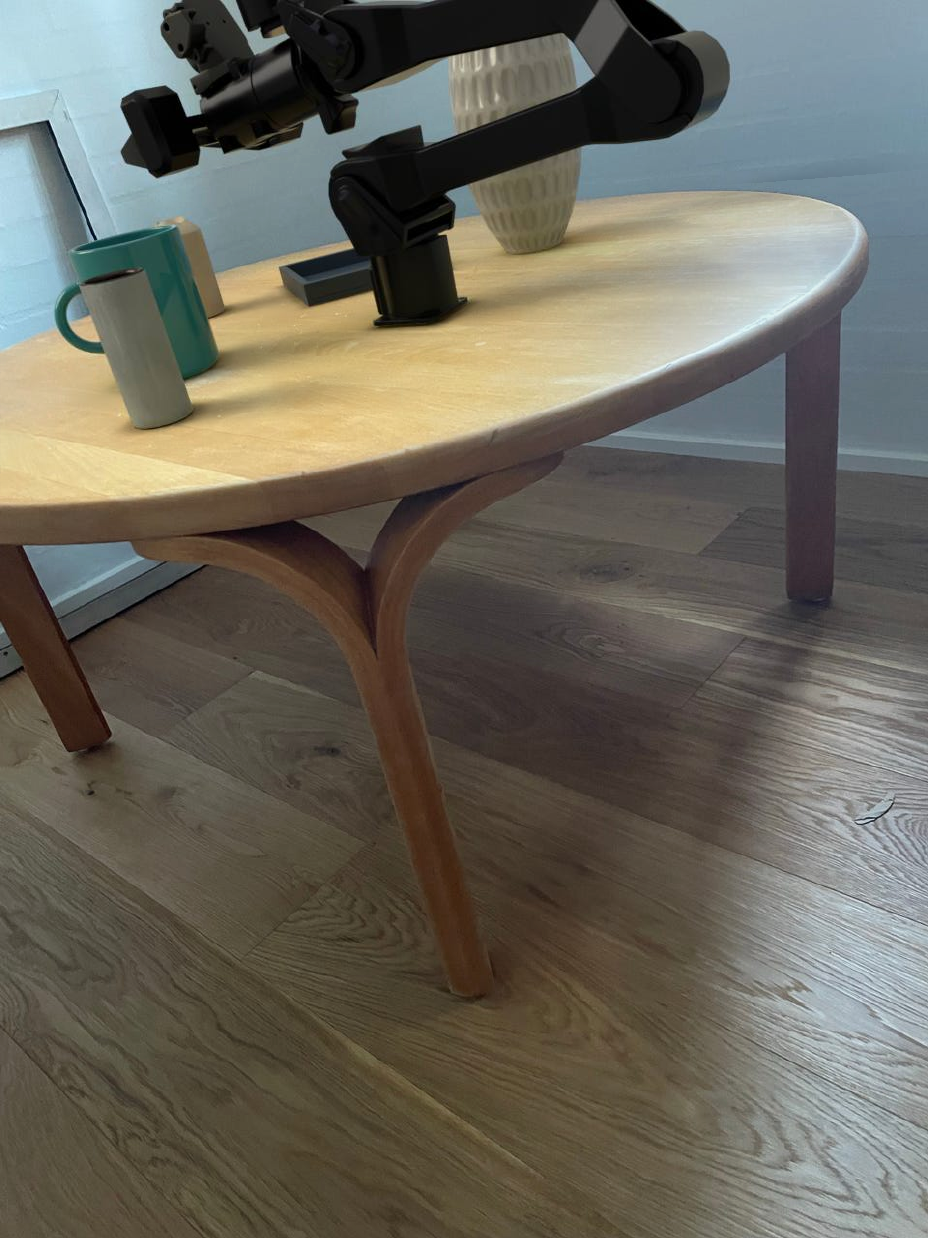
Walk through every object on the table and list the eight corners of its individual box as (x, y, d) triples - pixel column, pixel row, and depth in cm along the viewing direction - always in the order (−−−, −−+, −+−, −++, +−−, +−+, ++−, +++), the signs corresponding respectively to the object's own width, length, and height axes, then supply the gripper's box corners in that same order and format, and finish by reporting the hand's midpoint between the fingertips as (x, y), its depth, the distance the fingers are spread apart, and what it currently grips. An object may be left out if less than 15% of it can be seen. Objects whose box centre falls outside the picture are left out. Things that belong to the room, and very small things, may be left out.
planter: (140, 414, 70) (88, 276, 65) (198, 402, 70) (150, 263, 65) (126, 434, 66) (69, 288, 61) (187, 421, 66) (135, 274, 61)
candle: (212, 319, 98) (180, 219, 92) (167, 325, 99) (133, 228, 94) (233, 305, 102) (204, 209, 97) (190, 312, 104) (159, 218, 98)
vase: (598, 246, 93) (564, -99, 78) (475, 269, 94) (419, -65, 80) (586, 226, 104) (554, -80, 89) (476, 247, 105) (426, -51, 91)
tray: (441, 271, 97) (437, 250, 96) (308, 306, 94) (303, 284, 93) (400, 255, 110) (397, 236, 109) (283, 286, 107) (278, 266, 106)
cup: (88, 382, 83) (35, 253, 77) (217, 348, 85) (176, 220, 79) (82, 408, 75) (23, 266, 69) (225, 370, 77) (179, 229, 71)
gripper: (307, -25, 79) (191, 42, 88) (151, -15, 66) (35, 63, 75) (354, 114, 84) (240, 164, 93) (217, 149, 71) (100, 203, 80)
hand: (160, 148), depth 85 cm, fingers open, 9 cm apart
